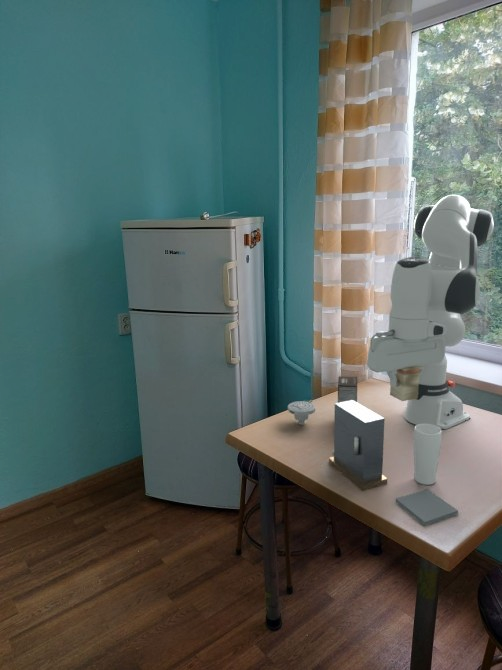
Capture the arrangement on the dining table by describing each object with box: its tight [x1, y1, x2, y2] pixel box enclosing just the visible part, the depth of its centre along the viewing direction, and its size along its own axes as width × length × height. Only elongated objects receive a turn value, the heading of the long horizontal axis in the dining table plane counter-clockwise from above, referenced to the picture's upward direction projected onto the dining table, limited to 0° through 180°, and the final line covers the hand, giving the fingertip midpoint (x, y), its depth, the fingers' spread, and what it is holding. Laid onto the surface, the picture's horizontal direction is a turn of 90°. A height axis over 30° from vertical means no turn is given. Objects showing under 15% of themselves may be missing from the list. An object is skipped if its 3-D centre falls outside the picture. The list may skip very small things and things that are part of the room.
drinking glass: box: [413, 424, 443, 486], centre depth 121 cm, size 7×7×15 cm
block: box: [389, 366, 420, 402], centre depth 110 cm, size 5×5×8 cm
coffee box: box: [337, 376, 358, 403], centre depth 156 cm, size 9×6×16 cm
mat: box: [395, 488, 459, 526], centre depth 111 cm, size 10×10×1 cm
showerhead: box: [287, 399, 316, 425], centre depth 159 cm, size 9×7×10 cm
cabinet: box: [328, 400, 388, 492], centre depth 125 cm, size 8×16×18 cm, turn 23°
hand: (404, 384), depth 110 cm, fingers closed on block, 4 cm apart
